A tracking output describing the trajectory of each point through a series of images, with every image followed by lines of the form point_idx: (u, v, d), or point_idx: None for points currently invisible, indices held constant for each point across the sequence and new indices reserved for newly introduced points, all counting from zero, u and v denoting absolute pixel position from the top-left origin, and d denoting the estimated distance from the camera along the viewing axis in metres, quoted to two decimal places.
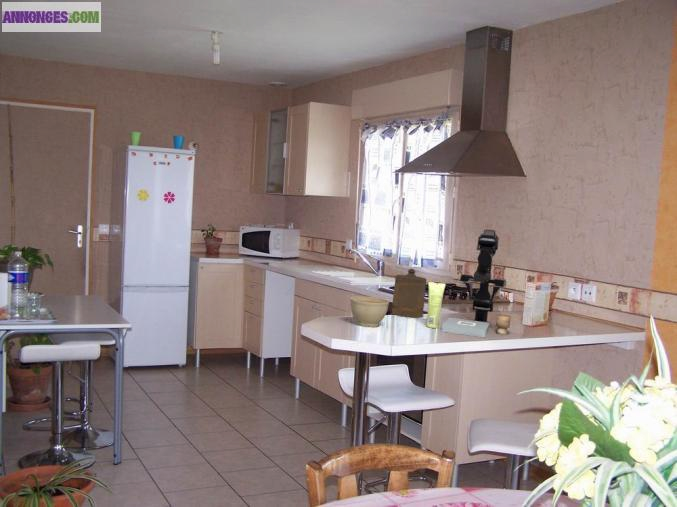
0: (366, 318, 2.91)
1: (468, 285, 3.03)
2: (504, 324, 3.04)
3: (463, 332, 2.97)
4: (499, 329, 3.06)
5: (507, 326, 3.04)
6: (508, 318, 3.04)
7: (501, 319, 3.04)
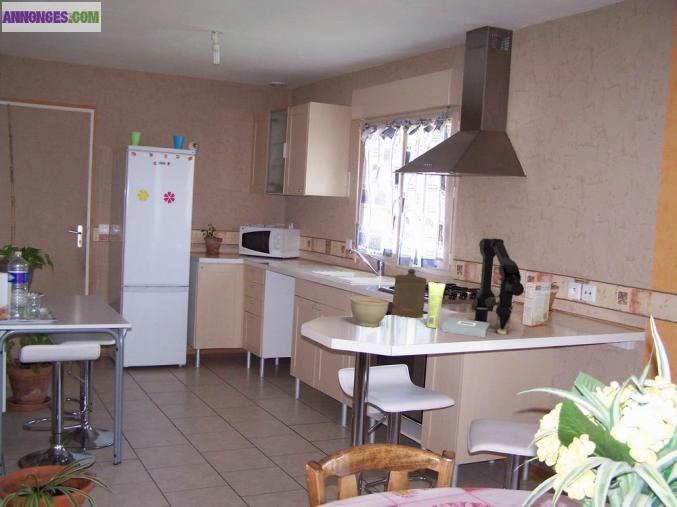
0: (366, 318, 2.91)
1: None
2: None
3: (463, 332, 2.97)
4: (499, 329, 3.06)
5: (507, 326, 3.04)
6: None
7: None
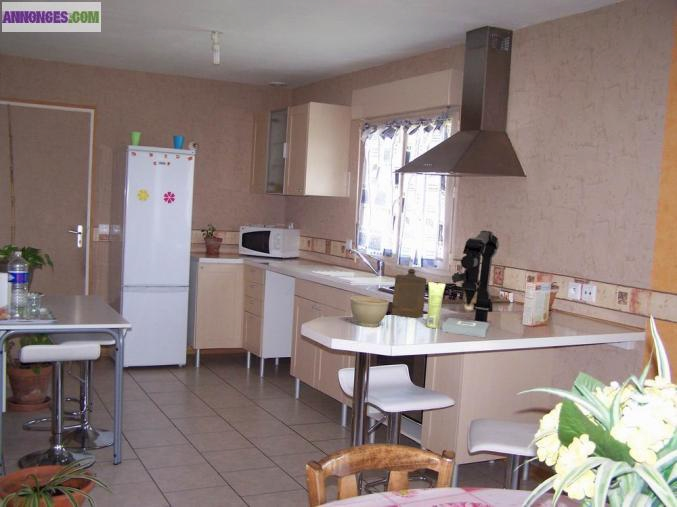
0: (366, 318, 2.91)
1: None
2: None
3: (463, 332, 2.97)
4: (466, 304, 3.05)
5: (473, 301, 3.04)
6: None
7: None
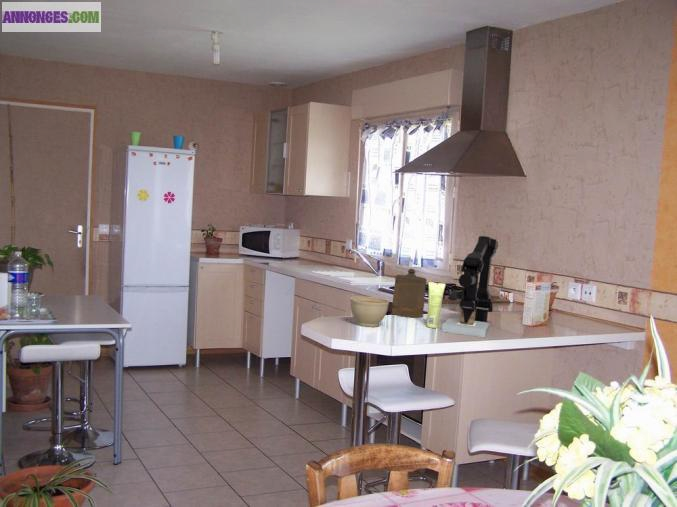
0: (366, 318, 2.91)
1: None
2: (468, 320, 3.04)
3: (463, 332, 2.97)
4: None
5: (471, 323, 3.05)
6: (472, 315, 3.05)
7: None
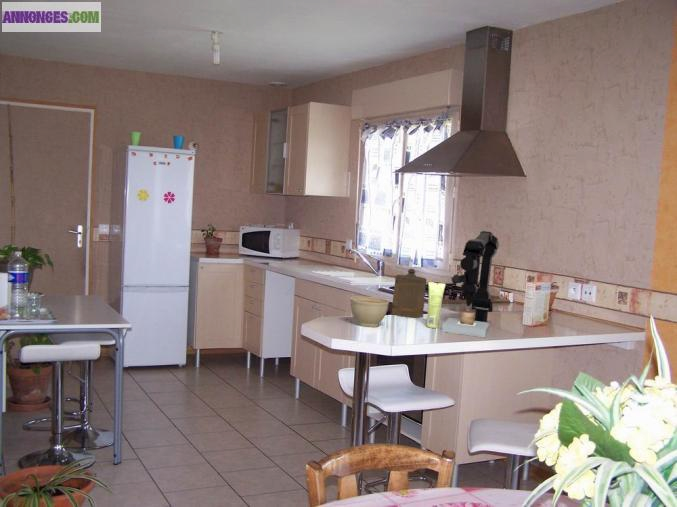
0: (366, 318, 2.91)
1: None
2: (468, 320, 3.04)
3: (463, 332, 2.97)
4: None
5: (471, 323, 3.05)
6: (472, 315, 3.05)
7: (465, 316, 3.04)
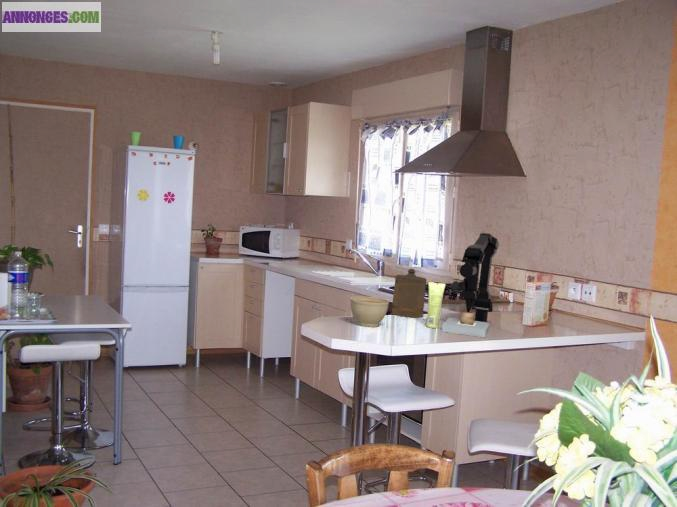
0: (366, 318, 2.91)
1: None
2: (468, 320, 3.04)
3: (463, 332, 2.97)
4: None
5: (471, 323, 3.05)
6: (472, 315, 3.05)
7: (465, 316, 3.04)
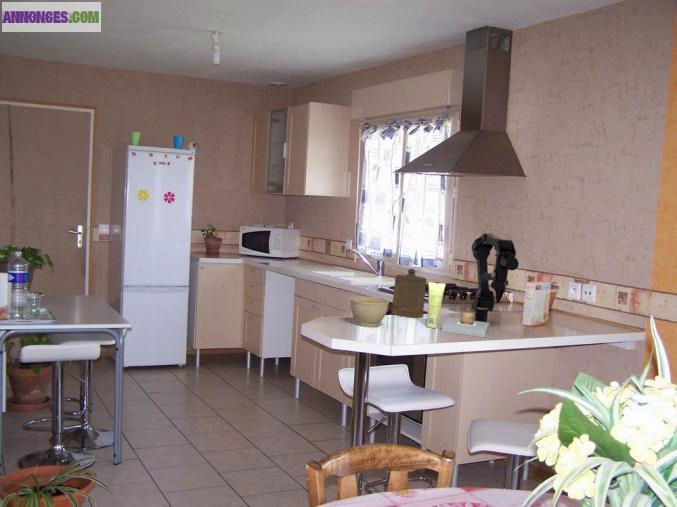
0: (366, 318, 2.91)
1: None
2: (468, 320, 3.04)
3: (463, 332, 2.97)
4: None
5: (471, 323, 3.05)
6: (472, 315, 3.05)
7: (465, 316, 3.04)
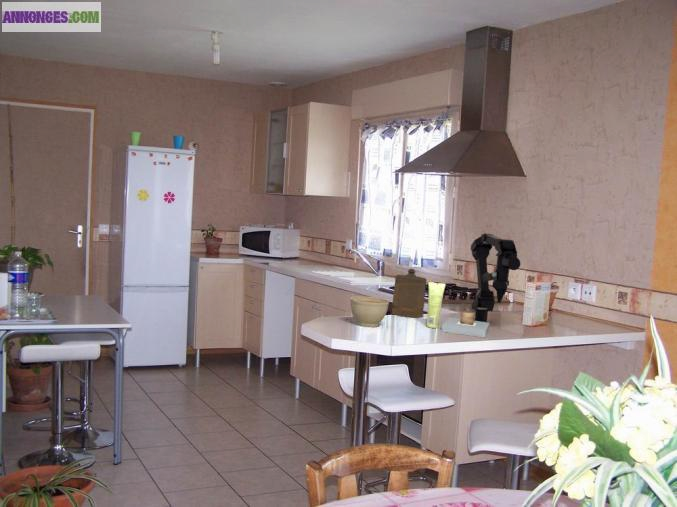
0: (366, 318, 2.91)
1: None
2: (468, 320, 3.04)
3: (463, 332, 2.97)
4: None
5: (471, 323, 3.05)
6: (472, 315, 3.05)
7: (465, 316, 3.04)
